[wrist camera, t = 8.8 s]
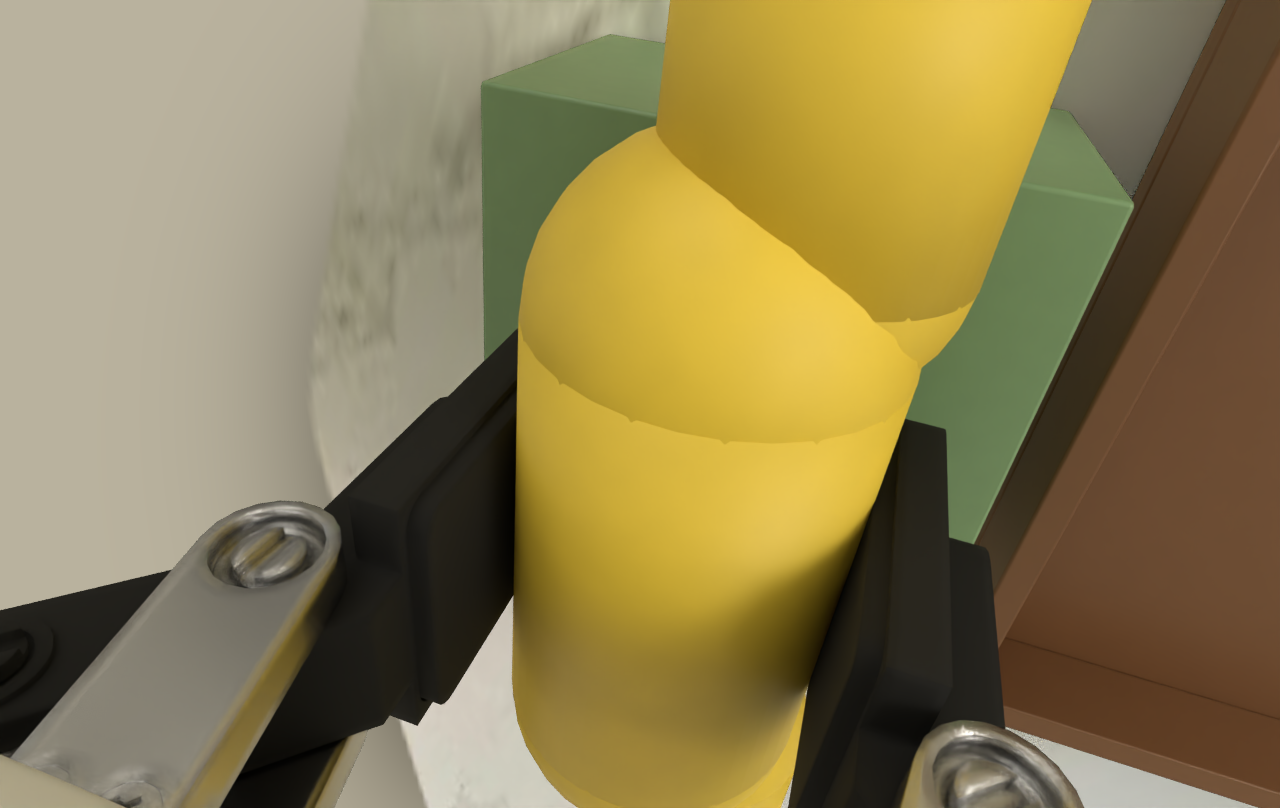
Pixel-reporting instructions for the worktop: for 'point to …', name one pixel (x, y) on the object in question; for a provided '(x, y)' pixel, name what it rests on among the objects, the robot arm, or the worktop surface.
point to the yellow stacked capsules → (746, 368)
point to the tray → (1164, 462)
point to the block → (948, 384)
